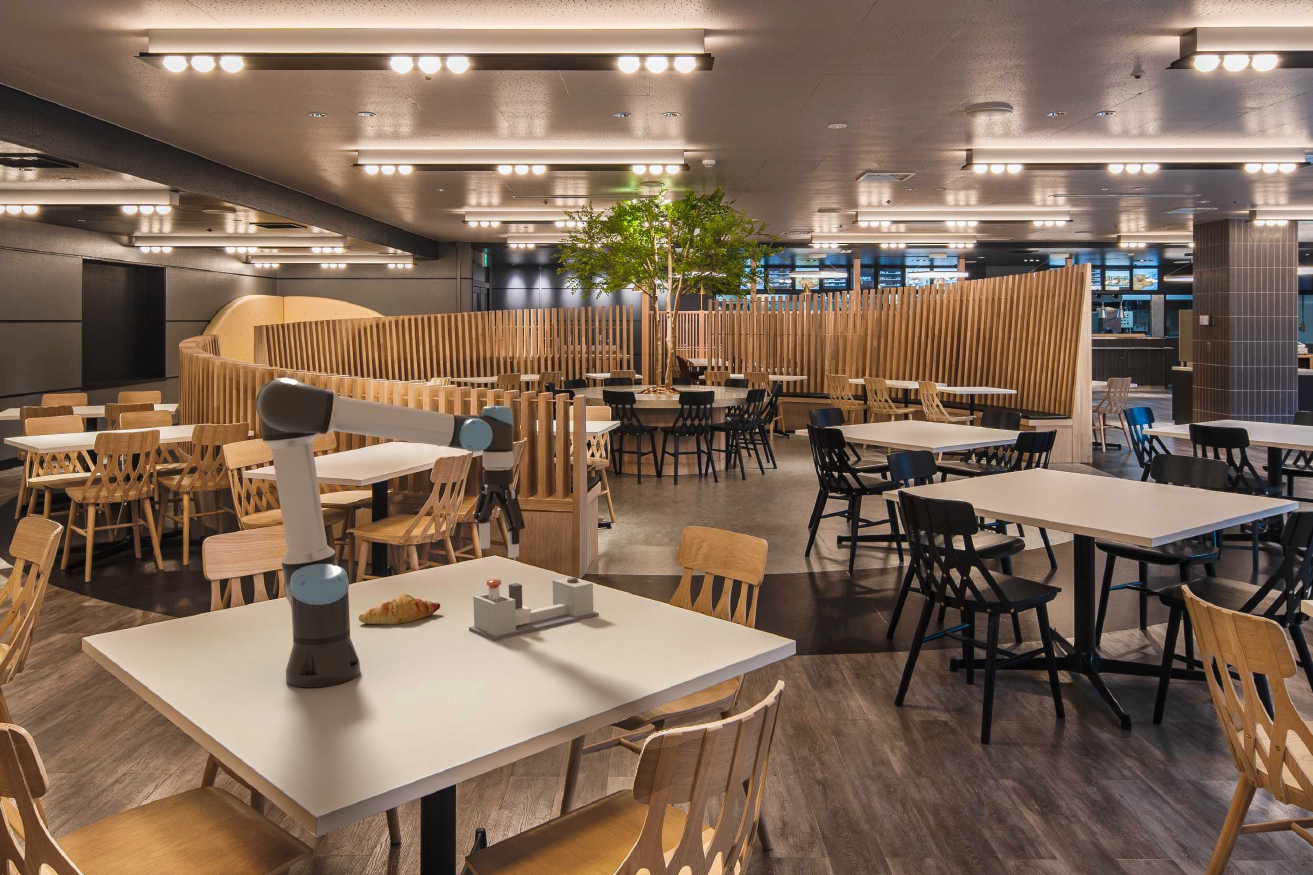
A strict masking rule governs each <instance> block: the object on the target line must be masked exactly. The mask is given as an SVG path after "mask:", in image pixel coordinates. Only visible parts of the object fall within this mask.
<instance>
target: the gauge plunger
mask: <svg viewBox="0 0 1313 875" xmlns="http://www.w3.org/2000/svg"><path fill="white" fill-rule="evenodd" d="M500 585H502V580H501V579H498V578H497V579H496V578H494V579H492V578H491V579H488V580H486V586H488V593H489V600H490V601H493V602H495V603H496V602H500V599H499V594H500Z"/></svg>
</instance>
